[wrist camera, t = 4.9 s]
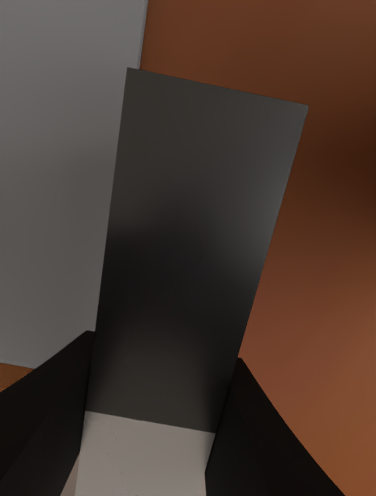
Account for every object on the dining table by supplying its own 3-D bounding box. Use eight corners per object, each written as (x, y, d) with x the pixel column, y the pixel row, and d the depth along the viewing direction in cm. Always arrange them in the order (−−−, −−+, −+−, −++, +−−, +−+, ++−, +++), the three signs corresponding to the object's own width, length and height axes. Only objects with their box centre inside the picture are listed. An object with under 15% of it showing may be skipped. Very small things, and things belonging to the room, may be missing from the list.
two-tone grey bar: (264, 122, 9) (309, 105, 5) (172, 489, 13) (163, 615, 9) (154, 100, 9) (127, 66, 5) (98, 477, 13) (62, 599, 9)
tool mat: (151, -27, 12) (149, -34, 11) (100, 373, 17) (97, 379, 17) (-68, -74, 11) (-79, -84, 11) (-50, 346, 17) (-57, 352, 16)
